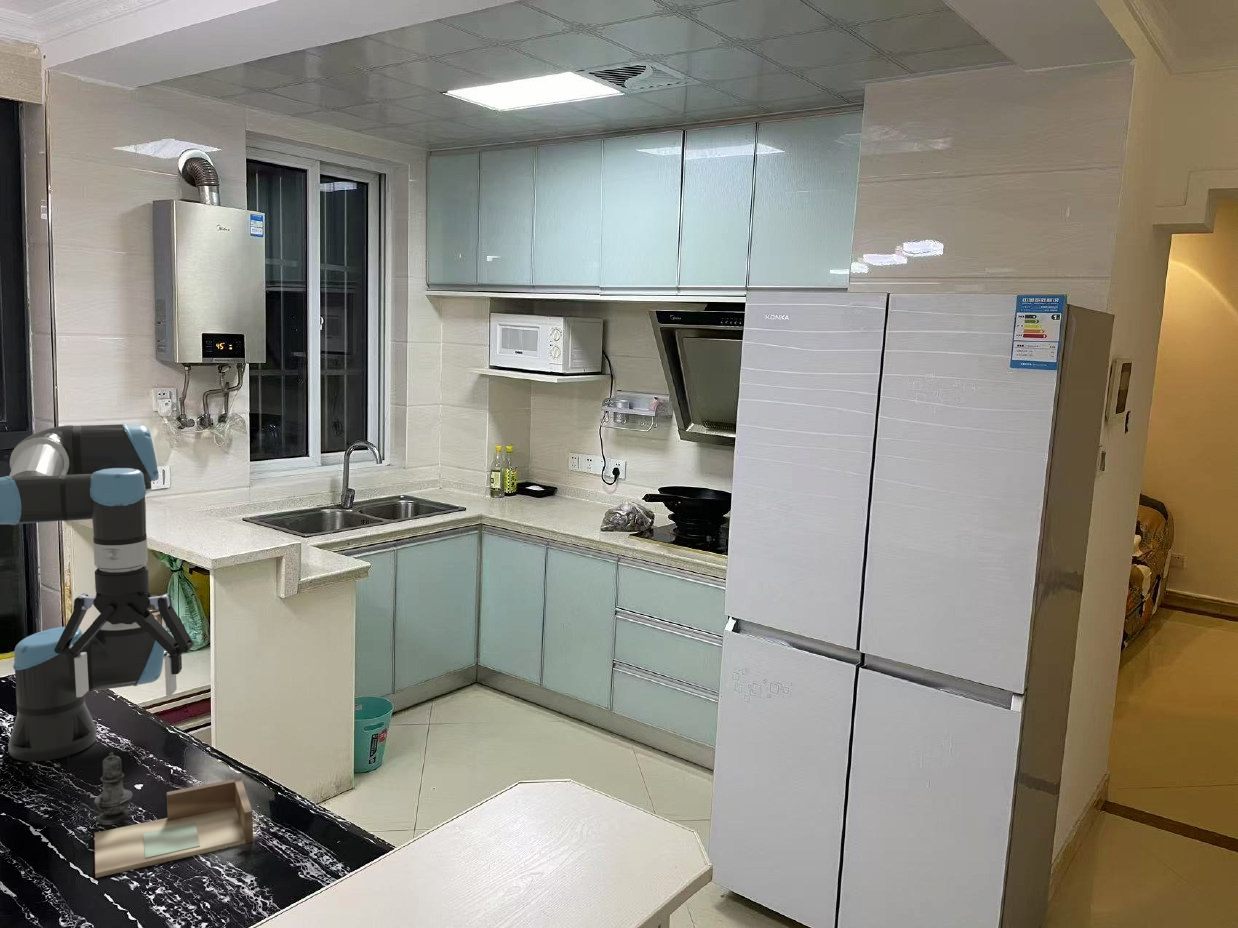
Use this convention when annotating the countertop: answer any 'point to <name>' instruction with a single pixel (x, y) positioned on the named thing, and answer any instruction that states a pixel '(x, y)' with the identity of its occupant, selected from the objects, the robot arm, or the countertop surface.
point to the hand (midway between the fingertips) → (127, 693)
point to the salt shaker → (113, 793)
